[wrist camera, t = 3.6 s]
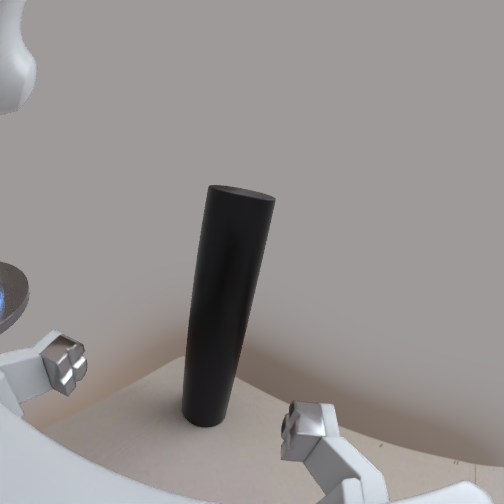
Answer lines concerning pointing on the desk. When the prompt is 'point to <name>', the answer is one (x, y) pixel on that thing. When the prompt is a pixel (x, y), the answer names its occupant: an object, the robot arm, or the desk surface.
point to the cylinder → (222, 297)
